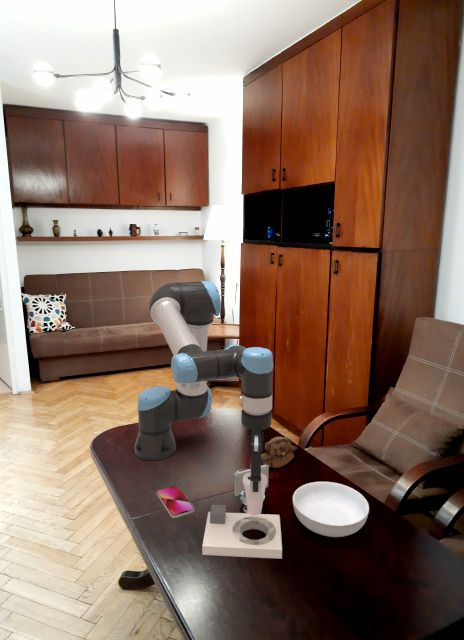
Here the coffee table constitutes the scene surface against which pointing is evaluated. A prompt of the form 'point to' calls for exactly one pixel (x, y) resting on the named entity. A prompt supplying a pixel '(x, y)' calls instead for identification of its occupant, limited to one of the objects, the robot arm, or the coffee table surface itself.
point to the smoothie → (252, 507)
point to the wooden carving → (278, 452)
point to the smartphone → (175, 501)
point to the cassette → (239, 479)
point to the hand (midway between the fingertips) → (255, 493)
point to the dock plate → (228, 538)
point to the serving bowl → (330, 508)
